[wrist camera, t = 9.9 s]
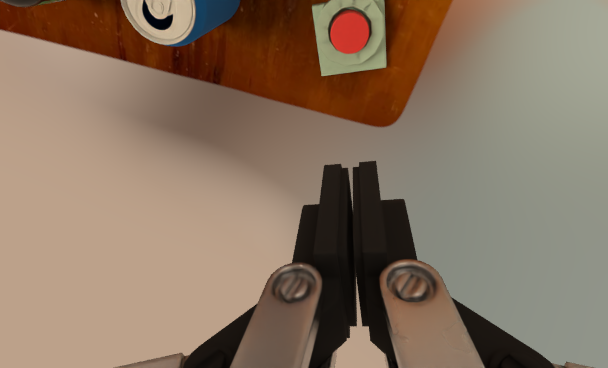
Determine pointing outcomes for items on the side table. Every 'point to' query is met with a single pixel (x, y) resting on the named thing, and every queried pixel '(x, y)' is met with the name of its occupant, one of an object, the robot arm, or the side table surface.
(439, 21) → the side table surface
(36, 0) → the supplement bottle
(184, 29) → the beverage can
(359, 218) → the robot arm
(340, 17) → the button
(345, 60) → the button block
